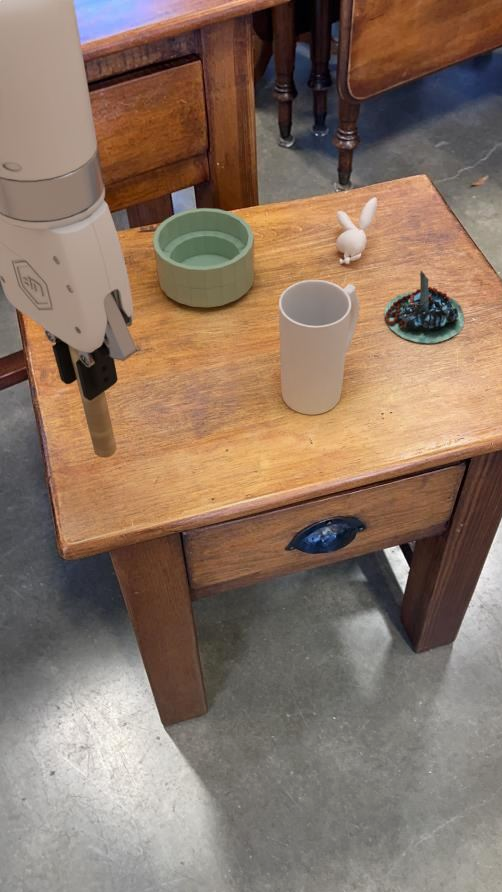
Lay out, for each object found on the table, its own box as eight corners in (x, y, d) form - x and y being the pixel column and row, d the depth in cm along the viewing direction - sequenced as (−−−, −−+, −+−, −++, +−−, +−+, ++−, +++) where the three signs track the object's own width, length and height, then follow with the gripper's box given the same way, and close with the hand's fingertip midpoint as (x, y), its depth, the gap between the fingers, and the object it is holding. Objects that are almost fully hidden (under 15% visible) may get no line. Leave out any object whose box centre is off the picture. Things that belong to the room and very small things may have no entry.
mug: (312, 427, 84) (317, 337, 74) (265, 394, 87) (263, 303, 77) (376, 377, 88) (388, 286, 79) (329, 346, 91) (335, 255, 81)
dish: (420, 336, 88) (421, 266, 89) (376, 348, 94) (377, 282, 94) (473, 347, 93) (473, 280, 93) (428, 357, 99) (428, 294, 99)
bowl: (208, 326, 93) (204, 283, 88) (139, 284, 97) (132, 240, 92) (274, 278, 98) (273, 234, 93) (205, 240, 102) (202, 196, 97)
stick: (104, 461, 74) (76, 342, 63) (89, 450, 75) (59, 330, 64) (121, 448, 75) (96, 329, 64) (106, 437, 76) (79, 317, 65)
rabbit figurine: (320, 263, 100) (330, 202, 101) (339, 277, 103) (349, 218, 104) (360, 253, 96) (370, 190, 97) (379, 268, 99) (388, 207, 100)
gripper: (-81, 153, 55) (-8, 361, 69) (80, 253, 49) (122, 457, 63) (11, 110, 58) (61, 317, 73) (171, 199, 52) (191, 404, 67)
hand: (89, 381), depth 68 cm, fingers closed on stick, 2 cm apart
